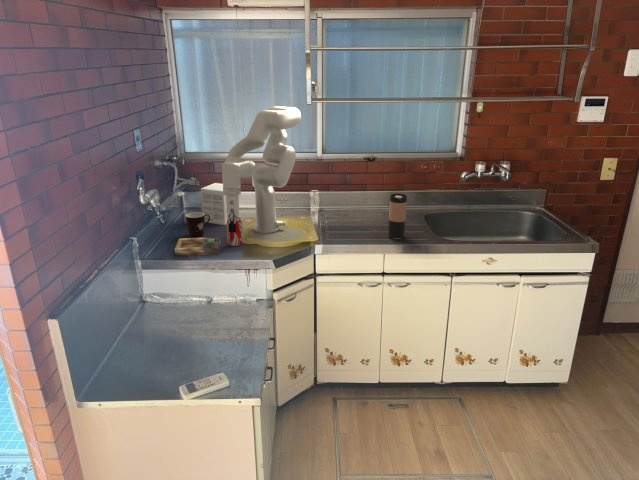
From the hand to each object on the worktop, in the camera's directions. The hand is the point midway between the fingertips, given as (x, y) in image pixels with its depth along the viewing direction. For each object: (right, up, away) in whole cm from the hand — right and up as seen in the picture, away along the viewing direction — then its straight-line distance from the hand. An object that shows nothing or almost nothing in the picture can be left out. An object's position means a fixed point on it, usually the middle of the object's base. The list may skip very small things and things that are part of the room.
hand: (233, 228), depth 217 cm
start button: (-8, -8, -6) cm, 13 cm away
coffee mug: (-18, -3, +15) cm, 23 cm away
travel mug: (+74, -4, +13) cm, 75 cm away
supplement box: (-13, +5, +36) cm, 39 cm away
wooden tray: (-14, -9, -3) cm, 17 cm away
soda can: (0, -7, +3) cm, 8 cm away
